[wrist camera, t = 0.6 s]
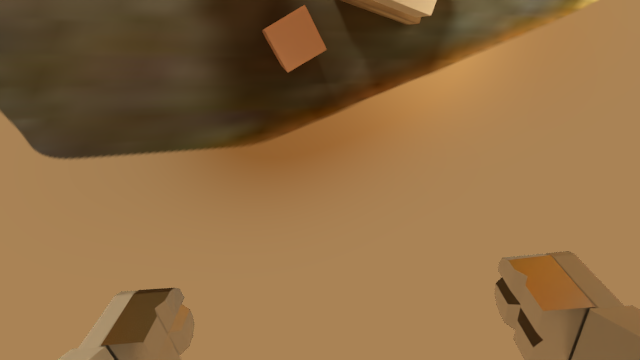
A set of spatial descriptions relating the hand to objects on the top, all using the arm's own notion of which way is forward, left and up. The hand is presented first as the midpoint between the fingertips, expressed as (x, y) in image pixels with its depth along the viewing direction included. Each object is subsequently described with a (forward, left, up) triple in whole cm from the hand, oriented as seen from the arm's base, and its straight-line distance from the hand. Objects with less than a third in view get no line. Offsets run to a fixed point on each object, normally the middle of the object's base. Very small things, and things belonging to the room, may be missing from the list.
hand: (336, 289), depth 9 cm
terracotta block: (-6, +1, -43) cm, 43 cm away
